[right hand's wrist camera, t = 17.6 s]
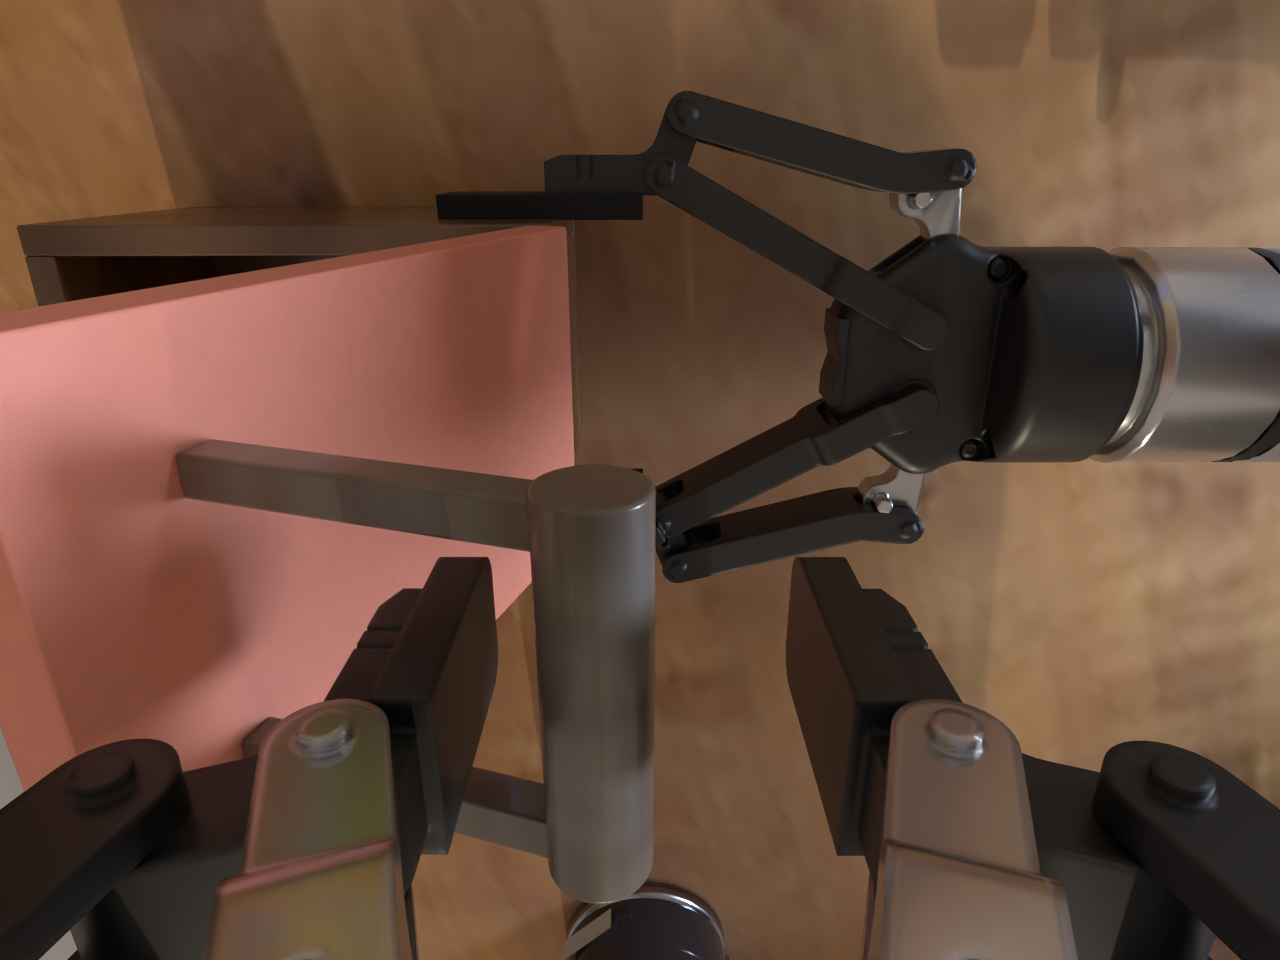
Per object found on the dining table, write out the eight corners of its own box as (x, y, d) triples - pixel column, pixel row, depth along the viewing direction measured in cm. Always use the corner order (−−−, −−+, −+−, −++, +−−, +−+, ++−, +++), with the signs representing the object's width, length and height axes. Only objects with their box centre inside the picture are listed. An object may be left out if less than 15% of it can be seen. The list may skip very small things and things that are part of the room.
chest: (236, 430, 36) (98, 523, 27) (191, 207, 32) (15, 225, 23) (581, 429, 36) (561, 521, 27) (574, 206, 32) (549, 224, 23)
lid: (87, 967, 12) (583, 1163, 10) (-148, 336, 8) (548, 401, 6) (542, 528, 26) (786, 563, 24) (525, 225, 23) (811, 232, 20)
